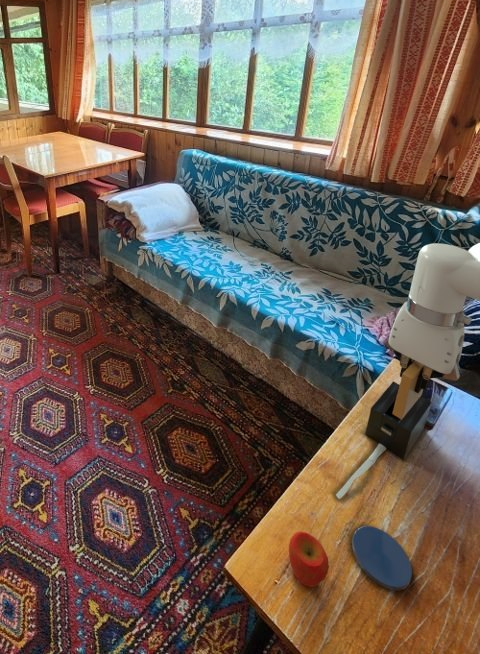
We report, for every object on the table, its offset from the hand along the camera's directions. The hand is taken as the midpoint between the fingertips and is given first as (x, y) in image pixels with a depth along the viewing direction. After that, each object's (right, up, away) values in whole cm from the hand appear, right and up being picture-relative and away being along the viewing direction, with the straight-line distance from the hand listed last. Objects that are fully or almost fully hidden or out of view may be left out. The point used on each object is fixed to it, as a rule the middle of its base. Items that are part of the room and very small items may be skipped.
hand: (412, 384), depth 74 cm
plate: (-10, -30, -5) cm, 32 cm away
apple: (-25, -31, -7) cm, 41 cm away
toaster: (+9, -20, +17) cm, 28 cm away
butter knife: (-1, -24, +11) cm, 26 cm away
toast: (0, -5, +2) cm, 5 cm away
